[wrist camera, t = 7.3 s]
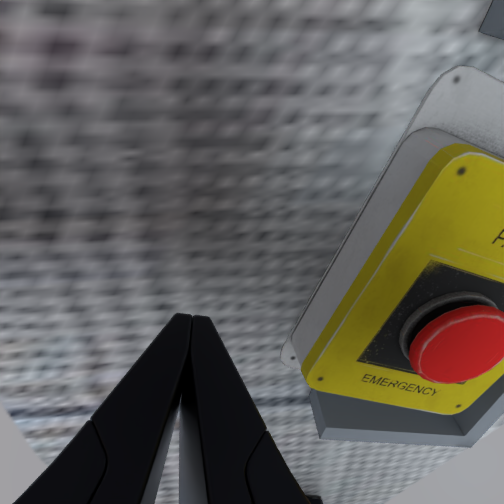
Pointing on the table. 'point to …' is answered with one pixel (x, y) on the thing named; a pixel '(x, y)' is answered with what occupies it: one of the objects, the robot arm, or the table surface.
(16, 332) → the table surface
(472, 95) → the emergency button
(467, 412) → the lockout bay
